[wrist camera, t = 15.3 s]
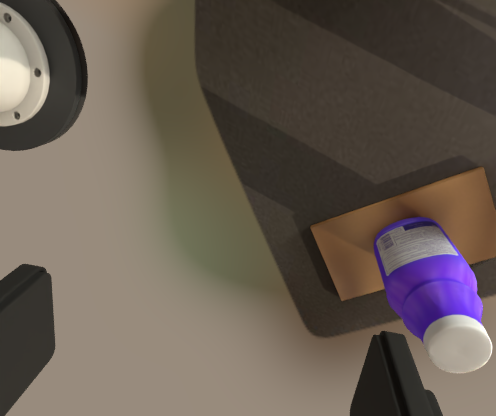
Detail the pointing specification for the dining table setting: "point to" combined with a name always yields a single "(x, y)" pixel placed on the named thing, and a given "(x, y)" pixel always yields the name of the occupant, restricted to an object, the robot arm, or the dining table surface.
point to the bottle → (433, 293)
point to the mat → (402, 207)
